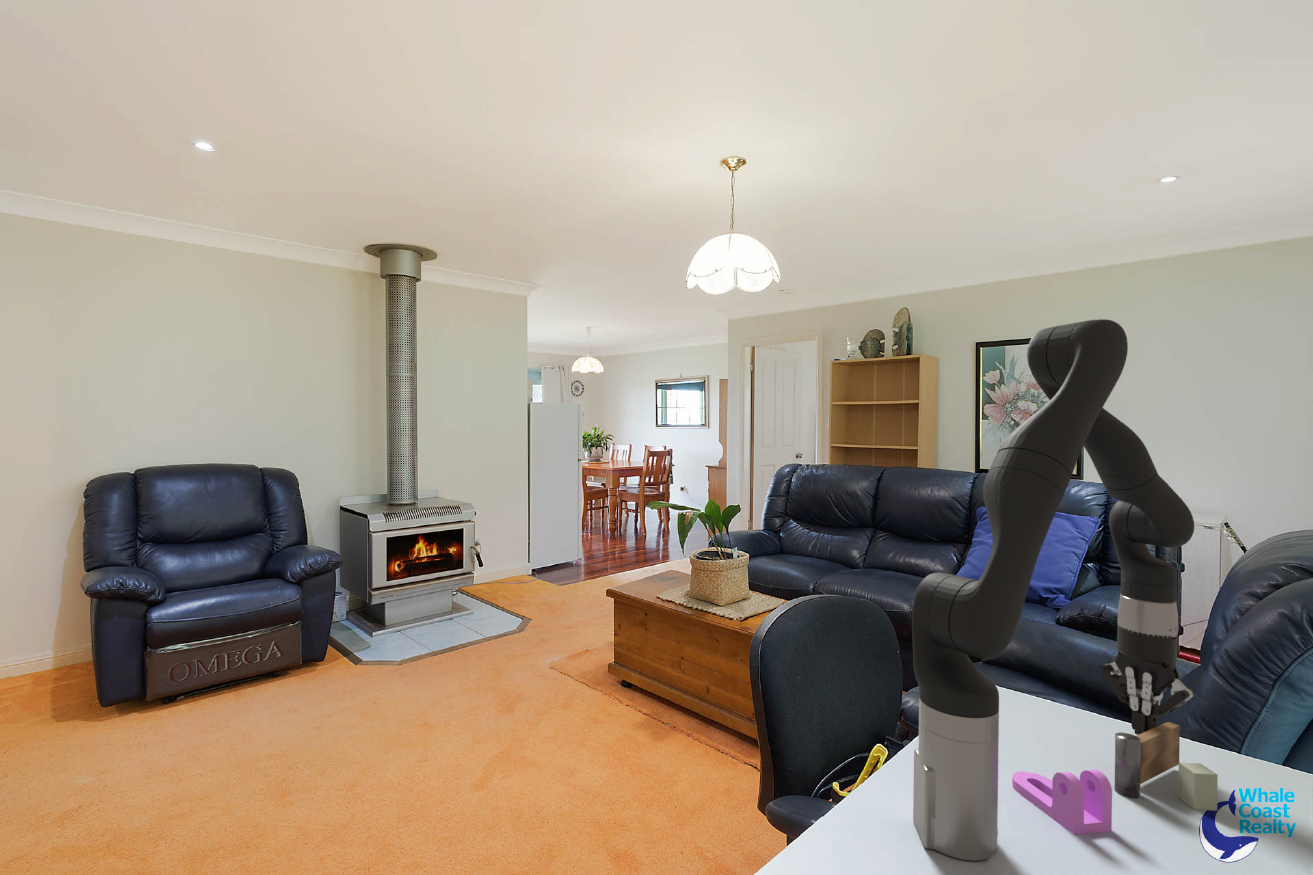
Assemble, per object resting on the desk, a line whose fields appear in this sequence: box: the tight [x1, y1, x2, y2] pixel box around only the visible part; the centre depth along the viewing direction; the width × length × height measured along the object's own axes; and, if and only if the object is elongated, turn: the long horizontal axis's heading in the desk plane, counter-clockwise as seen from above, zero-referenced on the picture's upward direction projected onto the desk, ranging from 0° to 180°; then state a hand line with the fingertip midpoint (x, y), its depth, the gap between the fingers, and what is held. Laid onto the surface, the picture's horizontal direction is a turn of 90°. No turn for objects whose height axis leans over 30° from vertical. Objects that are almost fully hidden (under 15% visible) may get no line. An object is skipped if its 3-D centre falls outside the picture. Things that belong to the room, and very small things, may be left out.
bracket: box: [1011, 769, 1113, 836], centre depth 90 cm, size 13×6×7 cm, turn 10°
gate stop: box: [1177, 762, 1219, 811], centre depth 91 cm, size 3×3×5 cm
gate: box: [1136, 721, 1181, 785], centre depth 97 cm, size 12×2×6 cm, turn 120°
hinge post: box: [1114, 732, 1141, 799], centre depth 93 cm, size 3×3×8 cm
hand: (1143, 735), depth 101 cm, fingers closed
